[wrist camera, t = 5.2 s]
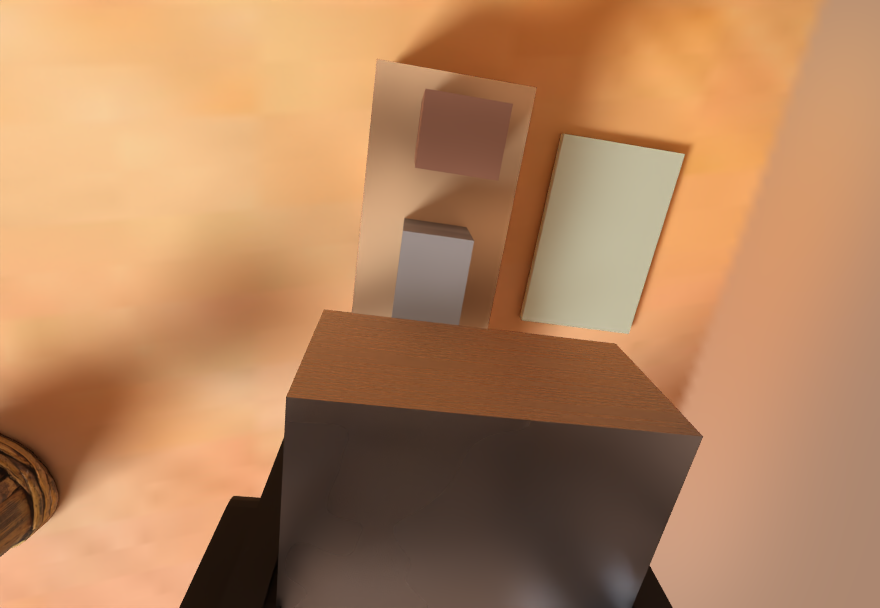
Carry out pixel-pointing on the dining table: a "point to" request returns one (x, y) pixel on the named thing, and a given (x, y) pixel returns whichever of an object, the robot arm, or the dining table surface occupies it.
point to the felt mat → (598, 233)
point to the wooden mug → (23, 494)
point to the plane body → (438, 193)
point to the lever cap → (472, 469)
